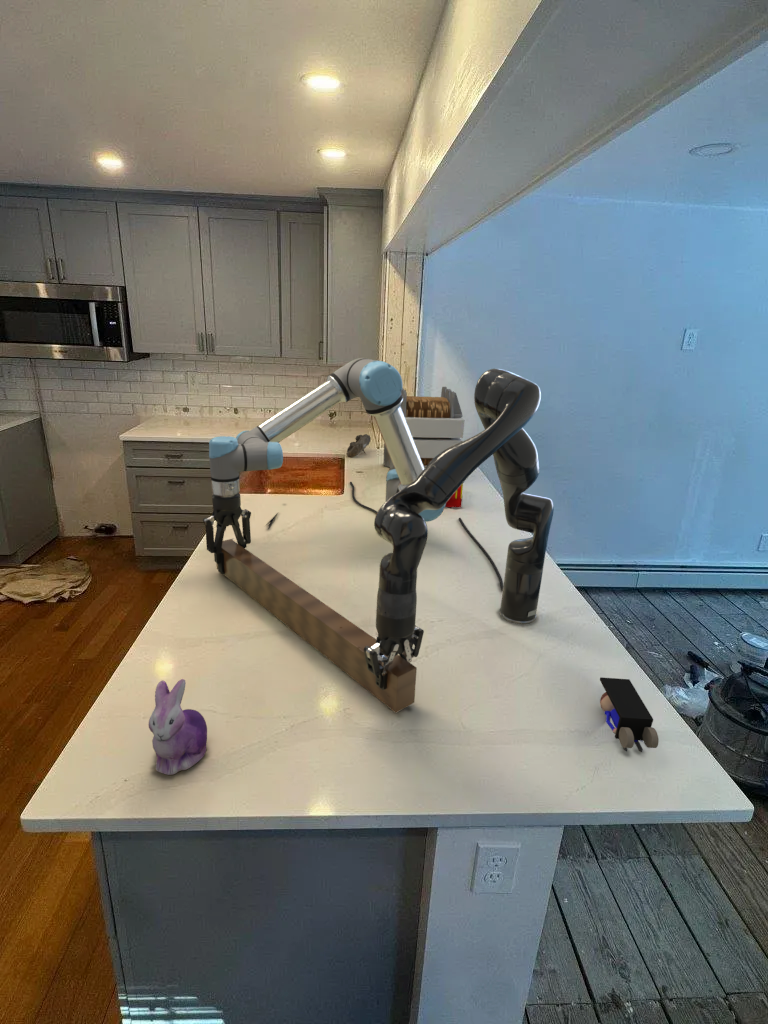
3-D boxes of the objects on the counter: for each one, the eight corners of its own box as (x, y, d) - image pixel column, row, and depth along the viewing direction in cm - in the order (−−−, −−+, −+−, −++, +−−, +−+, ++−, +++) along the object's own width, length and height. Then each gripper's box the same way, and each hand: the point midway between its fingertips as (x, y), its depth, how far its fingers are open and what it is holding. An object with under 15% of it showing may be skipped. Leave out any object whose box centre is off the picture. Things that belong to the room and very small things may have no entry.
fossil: (346, 440, 316) (367, 425, 311) (357, 453, 319) (378, 438, 314) (340, 453, 296) (362, 438, 291) (351, 468, 299) (374, 452, 294)
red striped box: (455, 465, 253) (467, 475, 224) (454, 495, 256) (465, 508, 227) (428, 465, 253) (437, 474, 224) (427, 494, 256) (435, 507, 226)
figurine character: (654, 765, 103) (622, 703, 116) (665, 735, 100) (631, 675, 113) (618, 764, 103) (590, 702, 116) (628, 734, 99) (598, 674, 113)
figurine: (156, 786, 92) (147, 710, 87) (149, 745, 100) (140, 673, 95) (215, 767, 96) (210, 694, 91) (204, 729, 105) (198, 660, 100)
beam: (216, 569, 165) (214, 542, 162) (232, 564, 168) (230, 538, 165) (395, 713, 110) (397, 677, 107) (414, 702, 113) (416, 667, 110)
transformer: (382, 463, 289) (386, 382, 275) (445, 464, 293) (451, 384, 279) (390, 482, 257) (394, 392, 243) (460, 483, 261) (468, 394, 247)
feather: (285, 507, 224) (287, 503, 224) (267, 531, 198) (270, 526, 197) (281, 504, 224) (284, 500, 223) (263, 528, 197) (265, 524, 197)
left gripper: (200, 503, 147) (206, 583, 155) (262, 491, 159) (265, 566, 167) (188, 495, 153) (195, 573, 161) (249, 484, 164) (252, 557, 172)
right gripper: (380, 628, 100) (377, 706, 106) (437, 603, 109) (431, 677, 115) (354, 610, 105) (352, 686, 111) (410, 589, 114) (406, 660, 120)
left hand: (230, 569), depth 164 cm, fingers closed on beam, 5 cm apart
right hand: (392, 681), depth 113 cm, fingers closed on beam, 5 cm apart
